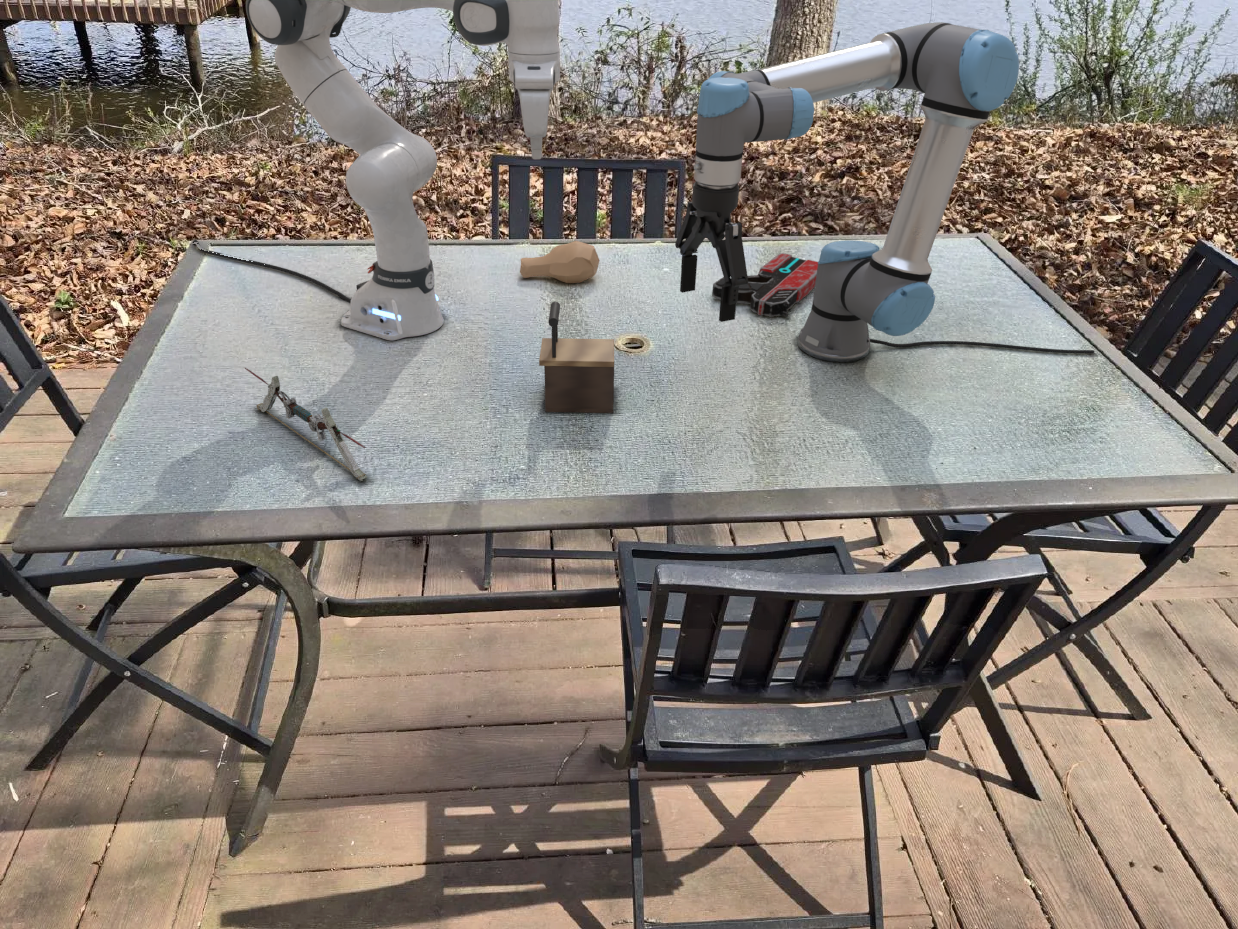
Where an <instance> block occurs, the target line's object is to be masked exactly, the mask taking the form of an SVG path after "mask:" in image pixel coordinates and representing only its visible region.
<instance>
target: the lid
mask: <svg viewBox="0 0 1238 929" xmlns="http://www.w3.org/2000/svg"><path fill="white" fill-rule="evenodd" d="M560 312H561V304H560V303H559V301H553V302H552V301H551V303H550V308H549V315H548V326H550V327H551V337H542V338H541V343H540V344H541V345H540V350H539V357H538V366H539V367H544V366H578V367H614V368H615V339H612V338H562V337H561V338H559V334H558V332H559V330H558V329H559V328H558V327H559V321H560Z"/></svg>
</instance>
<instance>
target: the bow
mask: <svg viewBox="0 0 1238 929" xmlns="http://www.w3.org/2000/svg"><path fill="white" fill-rule="evenodd" d="M244 369H245V371H247V372H249V373H250V374H252V375H253V376H254V377H255V378H257V379H258V380H260V381H261V382H262V383H264V384H266V385H267V394H266V395H265V397H263V401H262V402H261V403H259V404H256V408H257V410H258V411H260V412H261V413H267V414H268V415H269V416H271V417H272V418H274V419H275V420H277V422H280V423H281V424H283V425H284V426H285V427H287V428H288V429H290V430H291V431H293V432H294V433H295V434H296V435H298V436H299V437H301V438H303V439H304V440H305V441H307V442H308V443H310V444H311V445H312V446H314V447H315V448H317V449H318V450H320V451H321V452H322V453H324V454H325V455H327V456H328V457H329V458H330V459H332V460H334V461H335V462H336V463H338V464H339V465H341V466H343V467H344V468H345V469H346V470H348V471H349V472H351V473H352V475H353V476H354V477H355V478H356V480H358V481H360V482H363V481H364V479H368V476H367V475H366V473H365V472H363V470H362V469H361V468H360V467H359V466H358V464H357V462H356V460H355V458H354V455H353V454H352V452H351V450H350V449H349V447H348V445H347V444H346V442H345V439H344V438H343V437H345V438H346V439H349V440H350V441H351V442H353V443H355V444H356V445H357V446H359V447H362V448H363V449H366V446H365V445H363V443H361V442H360V441H358V440H356V439H354V438H353V437H351V436H349V435H348V434H345V433H343V432H341V429H340V428H339V427H338V425H337V423H336V422H335V420H334V418H333V416H332V415H331V412H330V410H329V408H328V407H324V408H321V409H320V410H321V414H320V413H318V414H316V415H312V413H311V412H310V411H309V410H308V409H306V408H304V407H303V406H302V405H299V404H298V403H297V399H296V397H291V398H290V397H289V396H288V394H287V393H285V392H284V391H283V390H281V384H280V383H281V382H280V377H279V375H274V376H271V381H270V383H268V382H267V381H265V380H264V379H263V378H262V377H260V376H259V375H258V374H256V373H254V372H253V371H252V370H251V369H248V368H247V367H244ZM277 398H278V399H279V401H280V402H281V403H282V404H283V408H284V409H285V418H286V419H287V420H290V419H292V418H295V416H296V417H297V418H299V419H301V420H303V421H304V422H305V423H308V427H309V429H310V430H311V431H312V432H313V433H316V435H317V436H316V437H317V439H318V441H320V442H322V441H325V440H327V435H326V432H325V430H328V432H329V434H330V436H331V437H332V440H333V442H334V444H335V445H336V448H337V450H338V451H339V453H340V455H341V457H342V458H343V461H344V462H345V464H346V465H344V464H343V463H342V462H341V461H340V460H338V459H337V458H335V457H334V456H332V455H330V454H329V453H328V452H326V451H325V450H323V449H322V448H321V447H319V446H317V445H316V444H314V443H313V442H311V441H310V440H309V439H307V438H306V437H305V436H303V435H302V434H301V433H299V432H297V431H296V430H294V429H293V428H292V427H290V426H289V425H288V424H286V423H285V422H283V420H280V419H278V418H277V417H276V416H275V415H273V414H272V413H270V412H269V411H270V410H271V409H272V408H273V406H274V404H275V402H276V400H277Z"/></svg>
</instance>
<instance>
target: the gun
mask: <svg viewBox="0 0 1238 929" xmlns="http://www.w3.org/2000/svg"><path fill="white" fill-rule="evenodd" d="M817 268H818V261H816V260H812V259H802V258H799V257H795V256H793V255H792V254H791V253H784V252H780V253H778V254H777V255H775V256H774V257H773V258H771V259H770V260H768V261H767V262H766V263H765V264H763V265H762V266H761V267H760V269H759V271H758V273H757V274H756V275H753V274H752V275H751V274H750V275H747V276H748V284H747V285H741V286H739V290H738V300H737V303H736V304H750V305H749V308H750V310H751V312H753V313H755V314H757V315H758V316H760V317H761V316H765V317H770V318H771V317H777V316H780V317H784V318H787V317H788V315H789V311H788V310H790V309H791V308H792V307H793V306H794V305H795V304H798V303H799V302H801V301H802V300H803V299H804V298H805V297H807V296H808V295H809V294H810V293H811V292H812V291H813V290H814V289H815V282H816V275H817ZM724 283H725V280H724V276H722V277H720V279H717V281H715V282H713V283H712V291H711V297H713V298H714V299H716V300H719V301H721V291H722V284H724Z"/></svg>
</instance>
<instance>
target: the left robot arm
mask: <svg viewBox="0 0 1238 929" xmlns="http://www.w3.org/2000/svg"><path fill="white" fill-rule="evenodd" d="M428 8H431V9H432V8H433V9H441V10H442V9H443V10H447V11H451V12H452V15H453V22H454V25H455V27H456V30H457V31H458V33H459V34H460V36H461V37H462V38H463V39H464V40H465V41H466V42H468V43H470V44H472V45H475V46H480V47H488V46H493V45H496V44H500V43H504V44H505V45H506V47H507V55H508V57H507V58H508V75H509V76H508V77H509V78H508V79H509V81H510V82H512V83H513V84H514V87H515V89H516V90H517V94H518V98H519V102H520V103H519V105H520V110H521V111H520V112H521V119H522V125H523V130H524V135H525V137H527V138H529V141H530V150H531V159H532V160H541V159H542V158H543V138H545V137H546V136H547V132H548V125H549V112H550V101H551V100H550V99H551V93H552V92H553V91H554V87H555V85H556V84H557V83H558V82H559V81H560V80H561V52H560V51H561V50H560V45H559V41H558V30H559V26H560V9H559V8H560V5H559V0H246V1H245V11H246V12H245V13H246V15H247V19H248V22H249V24H250V26H251V27H252V29H253V31H254V32H255V33H256V34H257V36H258V37H259V38H260V39H262V40H263V41H264V42H266V43H268V44H270V45H274V46H276V49H275V50H274V51H275V52H274V61H275V64H276V66H277V69H278V70H279V72H280V74H281V75H282V77H283V79H284V80H285V82H286V84H287V85H288V87H289V88H290V90H291V91H292V92H293V93H294V95H295V96H296V98H297V99H298V100H299V101H300V103H301V104H302V105H303V107H304V108H305V109H306V110H307V112H308V113H309V114H310V115H311V116H312V117H313V119H314V120H315V121H316V122H317V124H318V125H319V126H320V127H321V128H322V129H323V131H324V132H325V133H326V134H327V135H328V136H329V138H330V139H331V140H332V141H335V142H337V143H338V144H342V145H344V146H347V147H348V148H350V149H352V150H353V151H354V152H356V153H357V154H358V155H359V156H358V157H356V159H355V160H354V161H353V162H352V163H351V165H350V166H349V167H348V169H347V170H346V173H345V186H346V189H347V192H348V194H349V196H350V198H351V199H352V200H353V201H354V202H355V203H356V204H357V205H358V206H360V207H361V208H362V209H363V210H364V212H365V214H366V216H367V219H368V221H369V224H370V227H371V231H372V234H373V240H374V247H375V253H376V254H375V255H376V261H374V262H373V263H372V265H371V266H369V267H368V268H367V274H370V273H372V277H371V278H370V279H369V280H365V281H362V282H360V283H358V284H356V285H355V287H356V289H355V292H354V293H353V294H352V296H351V298H350V297H348V296H347V295H345V294H343V293H342V292H340V291H338V290H337V289H334V288H333V287H331V286H330V285H327V284H326V283H324V282H322V281H320V280H318V279H315V278H313V277H311V276H308V275H306V274H304V273H300V272H298V271H294V270H291V269H289V268H285V267H281V266H277V265H274V264H269V263H265V262H261V261H256V260H252V259H248V260H249V261H246V260H241V259H237V258H233V257H228V256H224V255H220V254H223V253H222V252H217V251H213V250H210V249H208V250H209V252H208V251H204V250H202V249H201V250H199V251H200V252H202V253H204V254H207V255H212V256H215V257H219V258H223V259H227V260H232V261H235V262H241V263H245V264H250V265H254V266H258V267H263V268H266V269H271V270H275V271H278V272H281V273H285V274H289V275H292V276H295V277H298V278H300V279H303V280H306V281H308V282H310V283H313V284H314V285H317V286H319V287H321V288H323V289H325V290H327V291H328V292H330V293H331V294H333V295H334V296H337V297H339V298H340V299H342V300H343V301H345V302H348V303H350V305H349V310H347V311H346V313H344V314H343V316H342V317H341V320H340V324H341V326H342V327H344V328H347V329H350V330H354V331H357V332H360V333H364V334H367V335H370V336H373V337H377V338H380V339H383V340H387V341H396V340H397V341H398V340H401V339H404V338H412V337H420V336H423V335H427V334H430V333H431V334H432V333H434V332H436V331H437V330H439V329H441V327H442V326H443V325H444V323H445V320H444V317H443V314H442V312H441V310H440V307H439V303H438V301H439V297H438V295H437V294H436V291H435V271H434V264H433V260H432V259H431V253H430V245H429V244H430V243H429V232H428V226H427V225H426V223H425V221H424V220H422V218H419V216H418V213H417V211H416V207H415V204H414V199H413V197H414V193H416V192H417V191H418V190H420V189H422V188H423V187H425V186H426V185H427V184H428V183H429V181H431V179H432V177H433V176H434V174H435V173H436V170H437V167H438V157H437V153H436V150H435V148H434V147H433V145H432V144H431V143H430V142H429V140H427V139H426V138H425V137H423V136H420V135H417V134H415V133H413V132H411V131H410V130H407V129H406V128H405V127H403V125H402V124H399V122H397V121H396V120H395V119H394V118H392V117H391V116H390V115H388V113H386V112H385V111H384V109H382V108H381V107H379V105H377V103H376V102H375V101H373V99H372V98H371V97H370V96H369V95H368V93H367V92H366V91H365V90H364V88H363V87H362V86H361V85H360V84H359V82H358V81H357V80H356V78H354V76H353V75H352V74H351V72H350V71H349V70H348V69H347V67H346V66H345V65H344V64H343V63H342V62H341V60H340V59H339V58H338V57H337V55H336V54H335V53H334V51H333V48H332V46H331V42H330V39H332V38H337V37H339V36H340V34H341V32H342V28H343V25H344V23H345V21H346V20H347V18H348V17H349V14H350V11H351V9H355V10H358V11H362V12H367V13H373V14H374V13H377V14H392V13H393V14H394V13H399V12H404V11H410V10H417V9H428ZM194 242H198V243H197V244H199V245H200V242H199V241H198V240H197V239H193V240H192V243H194ZM192 245H193V246H196V245H195V244H192ZM212 252H214V253H212ZM216 253H217V254H216ZM251 261H253V262H251ZM264 264H265V265H264Z"/></svg>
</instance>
